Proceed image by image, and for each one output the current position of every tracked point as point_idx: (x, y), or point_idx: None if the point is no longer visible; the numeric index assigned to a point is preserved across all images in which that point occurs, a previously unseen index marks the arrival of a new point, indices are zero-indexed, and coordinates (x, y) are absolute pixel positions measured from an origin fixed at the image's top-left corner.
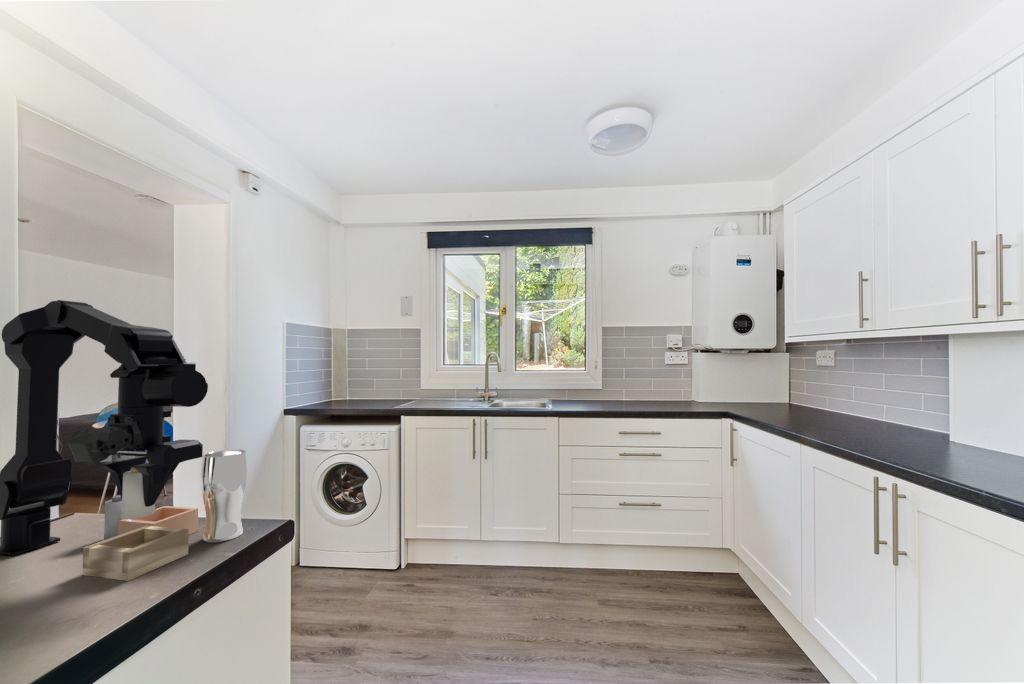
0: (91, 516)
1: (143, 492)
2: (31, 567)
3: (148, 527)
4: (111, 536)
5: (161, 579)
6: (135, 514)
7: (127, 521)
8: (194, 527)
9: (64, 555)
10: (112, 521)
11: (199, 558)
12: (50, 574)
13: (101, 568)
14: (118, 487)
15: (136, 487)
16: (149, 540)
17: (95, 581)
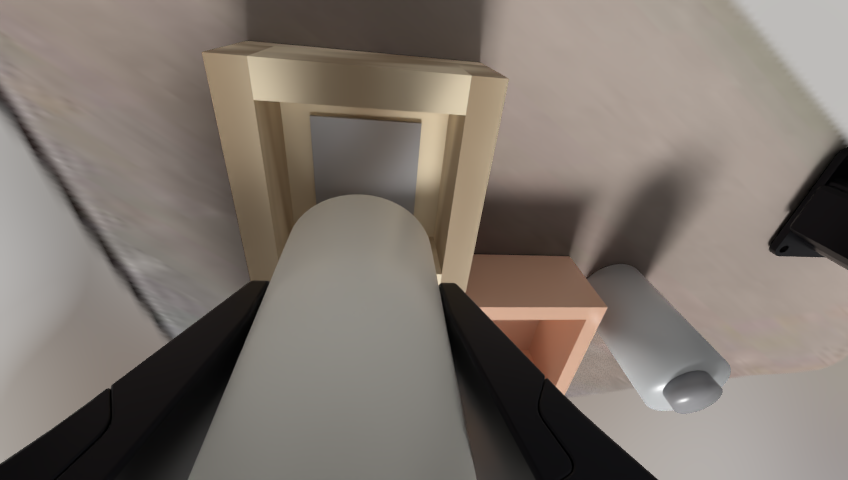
0: (791, 365)
1: (214, 343)
2: (718, 90)
3: (438, 284)
4: (616, 277)
5: (133, 71)
6: (302, 224)
7: (568, 307)
8: None
9: (678, 179)
10: (643, 310)
11: (203, 225)
12: (604, 51)
13: (388, 58)
14: (515, 362)
15: (245, 367)
16: None
17: (374, 21)
